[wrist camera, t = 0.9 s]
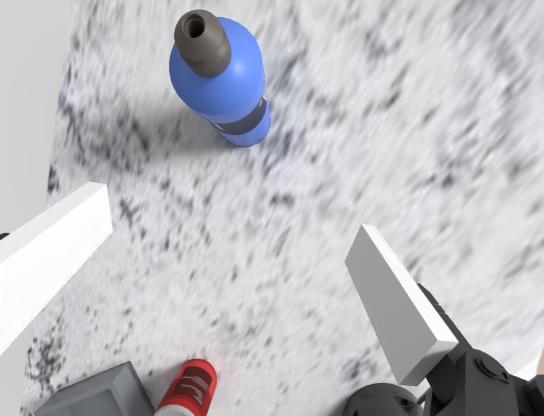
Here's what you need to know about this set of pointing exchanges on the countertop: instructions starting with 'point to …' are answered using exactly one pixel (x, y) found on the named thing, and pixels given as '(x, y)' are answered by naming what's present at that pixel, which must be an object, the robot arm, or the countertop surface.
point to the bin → (101, 396)
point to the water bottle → (221, 76)
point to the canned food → (189, 390)
